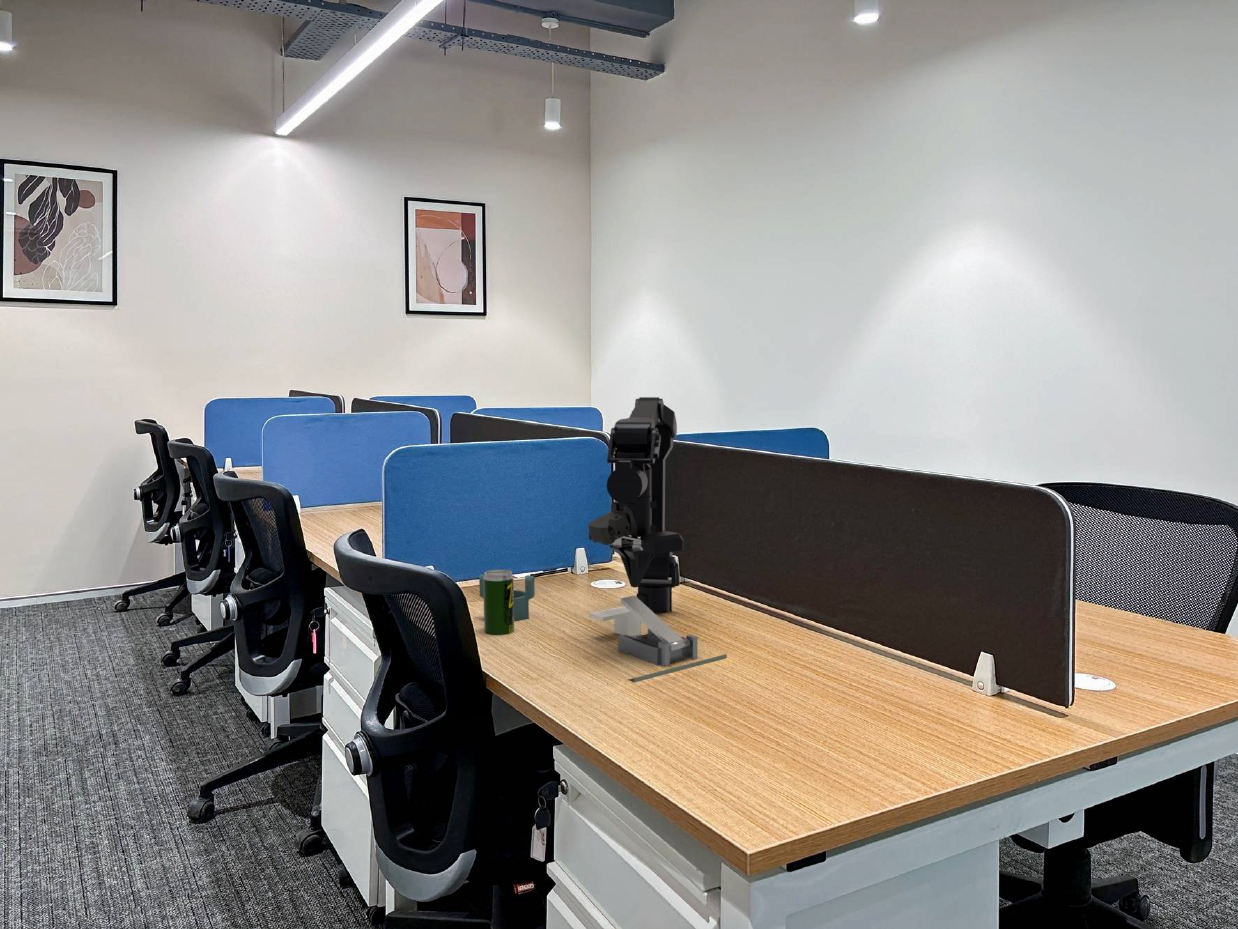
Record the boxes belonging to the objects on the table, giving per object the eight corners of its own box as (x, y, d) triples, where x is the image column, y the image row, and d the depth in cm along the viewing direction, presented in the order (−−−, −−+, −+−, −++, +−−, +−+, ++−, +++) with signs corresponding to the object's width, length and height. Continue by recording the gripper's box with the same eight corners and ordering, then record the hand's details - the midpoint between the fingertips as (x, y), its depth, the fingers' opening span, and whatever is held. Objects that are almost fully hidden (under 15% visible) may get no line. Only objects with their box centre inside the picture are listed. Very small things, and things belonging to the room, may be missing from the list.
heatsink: (654, 643, 161) (654, 622, 161) (699, 658, 152) (699, 636, 152) (618, 652, 156) (618, 630, 156) (662, 668, 147) (662, 644, 147)
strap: (635, 600, 161) (637, 593, 161) (688, 649, 151) (691, 642, 151) (617, 604, 159) (619, 597, 158) (670, 653, 149) (672, 646, 148)
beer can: (484, 642, 166) (483, 576, 165) (484, 634, 171) (483, 569, 170) (514, 641, 167) (513, 575, 166) (513, 632, 172) (512, 568, 171)
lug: (627, 629, 169) (626, 605, 169) (641, 634, 166) (641, 609, 166) (589, 637, 164) (589, 612, 164) (603, 642, 161) (603, 617, 161)
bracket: (537, 622, 180) (537, 576, 179) (493, 628, 175) (493, 581, 175) (518, 612, 188) (518, 568, 187) (475, 618, 183) (475, 573, 182)
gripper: (563, 494, 159) (564, 584, 160) (632, 505, 144) (632, 604, 146) (614, 489, 166) (615, 575, 167) (685, 499, 151) (685, 594, 153)
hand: (634, 587), depth 158 cm, fingers closed
